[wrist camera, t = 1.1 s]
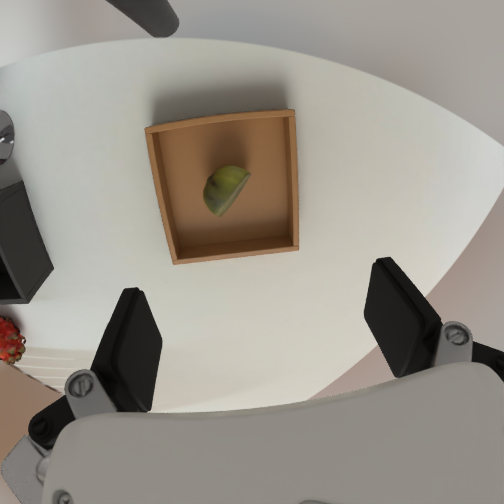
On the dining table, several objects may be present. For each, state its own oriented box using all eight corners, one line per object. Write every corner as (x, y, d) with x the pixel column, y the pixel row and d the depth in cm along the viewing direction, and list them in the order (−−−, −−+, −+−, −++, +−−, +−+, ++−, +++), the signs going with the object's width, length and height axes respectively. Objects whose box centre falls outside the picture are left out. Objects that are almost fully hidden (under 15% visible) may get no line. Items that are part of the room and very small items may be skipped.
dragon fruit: (40, 334, 39) (0, 309, 38) (18, 326, 31) (-23, 297, 30) (29, 375, 35) (-11, 346, 34) (5, 373, 28) (-35, 339, 26)
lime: (249, 160, 27) (253, 172, 22) (249, 205, 29) (254, 226, 25) (203, 162, 26) (198, 174, 22) (206, 207, 29) (203, 228, 24)
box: (152, 125, 24) (144, 128, 22) (288, 108, 25) (294, 109, 22) (176, 251, 31) (173, 265, 29) (293, 238, 32) (299, 250, 29)
